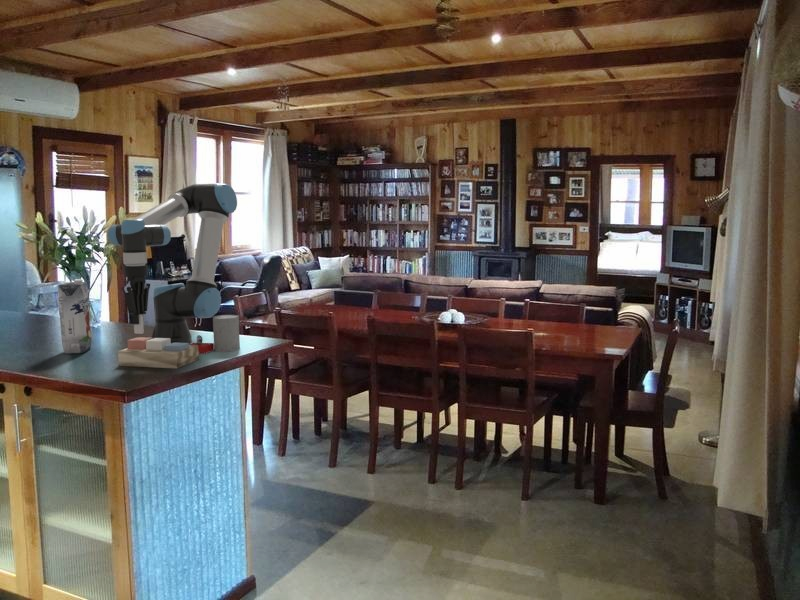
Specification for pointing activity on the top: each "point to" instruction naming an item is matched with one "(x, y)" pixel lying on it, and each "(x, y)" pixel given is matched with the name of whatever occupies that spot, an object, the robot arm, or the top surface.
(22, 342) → the top surface
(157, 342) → the white key
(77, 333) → the juice carton
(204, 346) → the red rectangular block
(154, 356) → the frame
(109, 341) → the top surface
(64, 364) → the top surface
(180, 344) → the blue key
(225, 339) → the grey cylinder
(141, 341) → the red key
